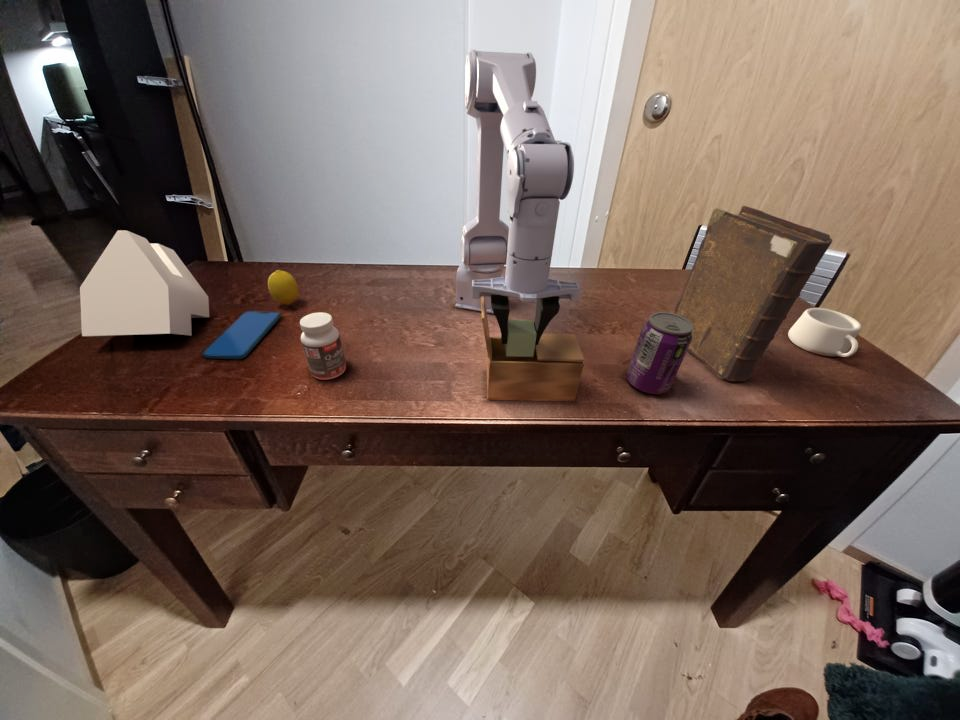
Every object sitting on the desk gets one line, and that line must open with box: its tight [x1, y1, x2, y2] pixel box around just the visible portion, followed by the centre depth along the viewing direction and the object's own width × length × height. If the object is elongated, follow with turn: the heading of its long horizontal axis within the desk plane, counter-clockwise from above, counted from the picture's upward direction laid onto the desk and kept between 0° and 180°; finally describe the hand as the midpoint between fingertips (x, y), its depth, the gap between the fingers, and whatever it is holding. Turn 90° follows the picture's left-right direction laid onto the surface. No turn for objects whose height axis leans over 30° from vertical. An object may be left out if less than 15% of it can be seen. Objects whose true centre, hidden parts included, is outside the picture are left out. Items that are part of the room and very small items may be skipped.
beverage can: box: [625, 311, 693, 395], centre depth 58 cm, size 7×7×12 cm
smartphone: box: [202, 310, 282, 360], centre depth 69 cm, size 7×1×15 cm
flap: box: [481, 297, 491, 358], centre depth 53 cm, size 7×7×1 cm
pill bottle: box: [299, 311, 347, 381], centre depth 59 cm, size 6×6×10 cm
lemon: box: [267, 269, 299, 306], centre depth 77 cm, size 6×6×8 cm
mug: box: [787, 307, 862, 358], centre depth 71 cm, size 12×10×6 cm
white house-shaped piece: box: [79, 229, 210, 339], centre depth 68 cm, size 14×11×18 cm
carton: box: [486, 333, 585, 402], centre depth 58 cm, size 14×7×8 cm, turn 90°
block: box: [505, 318, 537, 357], centre depth 54 cm, size 4×4×4 cm
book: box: [673, 205, 833, 382], centre depth 61 cm, size 17×7×25 cm, turn 9°
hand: (519, 340), depth 55 cm, fingers closed on block, 4 cm apart
